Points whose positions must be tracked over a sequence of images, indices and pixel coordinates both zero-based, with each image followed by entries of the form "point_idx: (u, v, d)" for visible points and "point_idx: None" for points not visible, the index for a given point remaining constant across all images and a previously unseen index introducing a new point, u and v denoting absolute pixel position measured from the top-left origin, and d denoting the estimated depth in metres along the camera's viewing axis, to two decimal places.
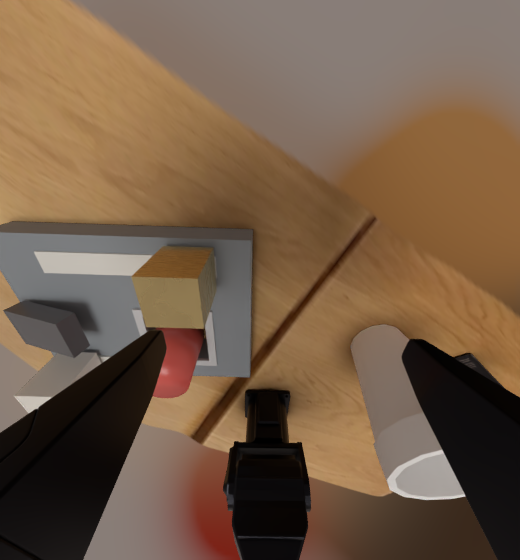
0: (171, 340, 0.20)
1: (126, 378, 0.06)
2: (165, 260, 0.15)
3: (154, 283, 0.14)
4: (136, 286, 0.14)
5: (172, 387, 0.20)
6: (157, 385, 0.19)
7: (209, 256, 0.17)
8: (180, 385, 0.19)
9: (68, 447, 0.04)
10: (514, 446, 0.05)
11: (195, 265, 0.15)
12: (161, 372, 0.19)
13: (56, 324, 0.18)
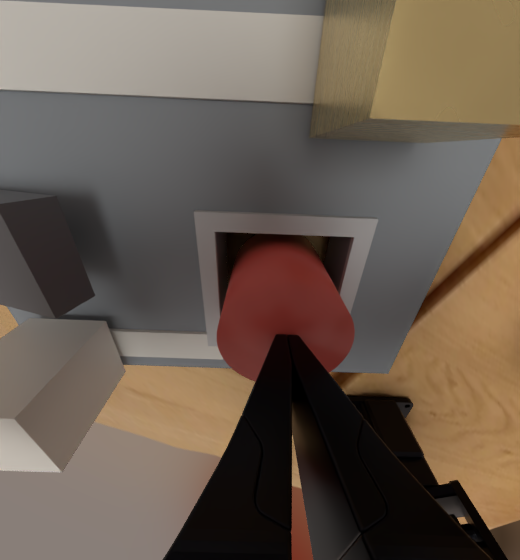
0: (301, 257, 0.09)
1: (291, 384, 0.06)
2: None
3: None
4: None
5: None
6: None
7: None
8: (327, 355, 0.09)
9: None
10: (314, 440, 0.05)
11: None
12: (297, 319, 0.08)
13: None
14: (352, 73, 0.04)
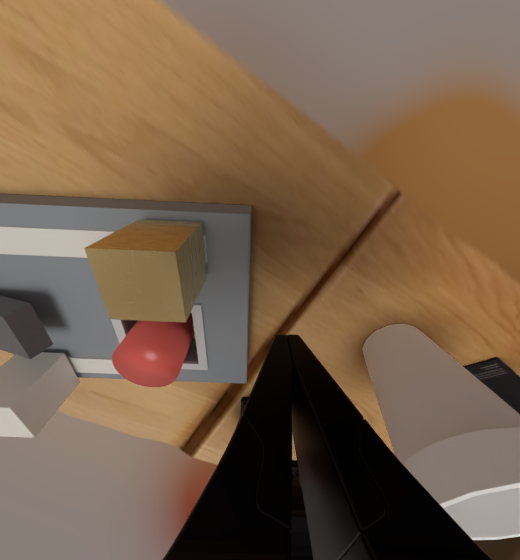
0: (160, 322, 0.18)
1: (291, 384, 0.06)
2: (136, 233, 0.12)
3: (116, 258, 0.10)
4: (92, 262, 0.10)
5: (160, 374, 0.17)
6: (143, 372, 0.17)
7: (195, 230, 0.13)
8: (169, 372, 0.17)
9: None
10: (314, 440, 0.05)
11: (175, 238, 0.11)
12: (147, 356, 0.17)
13: (3, 317, 0.15)
14: None
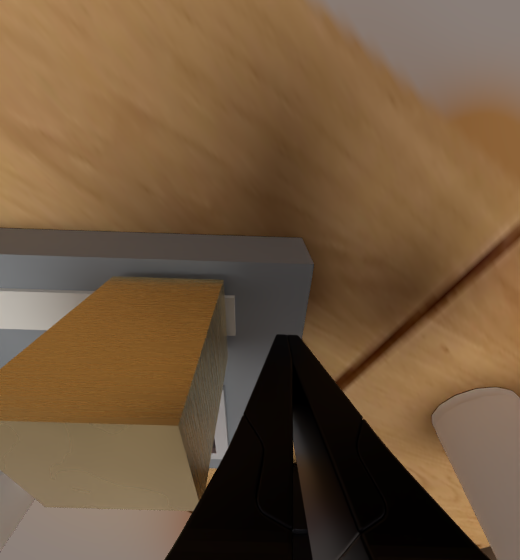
0: None
1: (292, 384, 0.06)
2: (97, 328, 0.06)
3: (30, 434, 0.04)
4: None
5: None
6: None
7: (215, 306, 0.07)
8: None
9: None
10: (313, 440, 0.05)
11: (177, 346, 0.05)
12: None
13: None
14: None
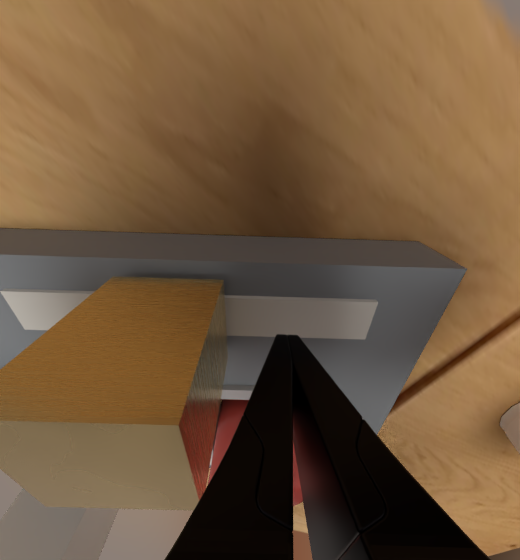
0: None
1: (292, 384, 0.06)
2: (98, 328, 0.06)
3: (31, 434, 0.04)
4: None
5: None
6: None
7: (215, 306, 0.07)
8: None
9: None
10: (313, 440, 0.05)
11: (178, 346, 0.05)
12: None
13: None
14: None
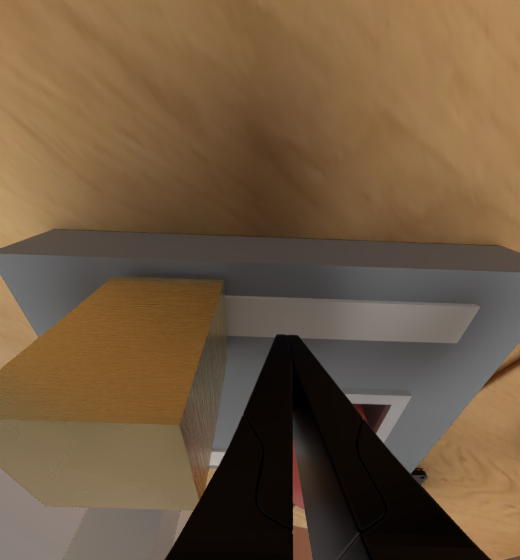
0: None
1: (291, 384, 0.06)
2: (98, 327, 0.06)
3: (32, 434, 0.04)
4: None
5: None
6: None
7: (216, 307, 0.07)
8: None
9: None
10: (313, 440, 0.05)
11: (178, 346, 0.05)
12: None
13: None
14: None
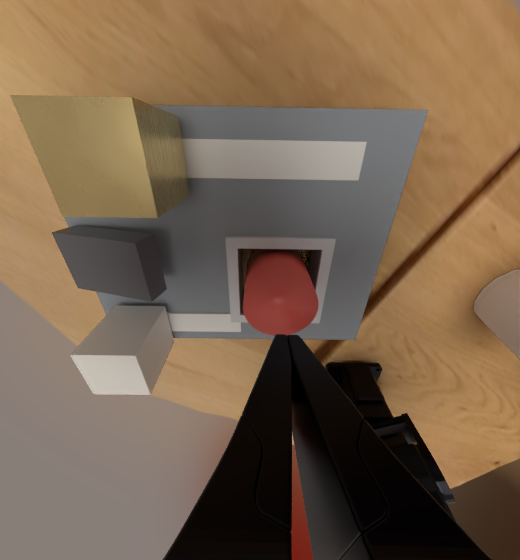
0: (289, 260, 0.16)
1: (291, 384, 0.06)
2: None
3: (56, 112, 0.08)
4: (25, 121, 0.08)
5: (292, 318, 0.15)
6: (274, 316, 0.15)
7: (168, 114, 0.10)
8: (305, 315, 0.15)
9: None
10: (314, 440, 0.05)
11: None
12: (286, 294, 0.14)
13: (136, 244, 0.12)
14: None
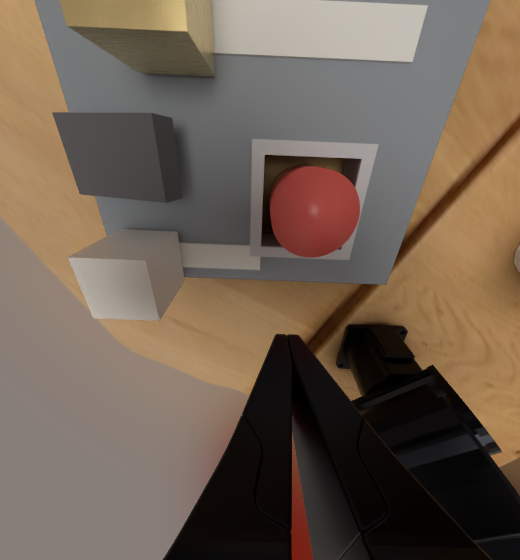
0: None
1: (291, 384, 0.06)
2: None
3: None
4: None
5: (327, 233, 0.13)
6: (307, 228, 0.13)
7: None
8: (342, 229, 0.13)
9: None
10: (314, 440, 0.05)
11: None
12: (324, 197, 0.12)
13: (152, 115, 0.10)
14: None
